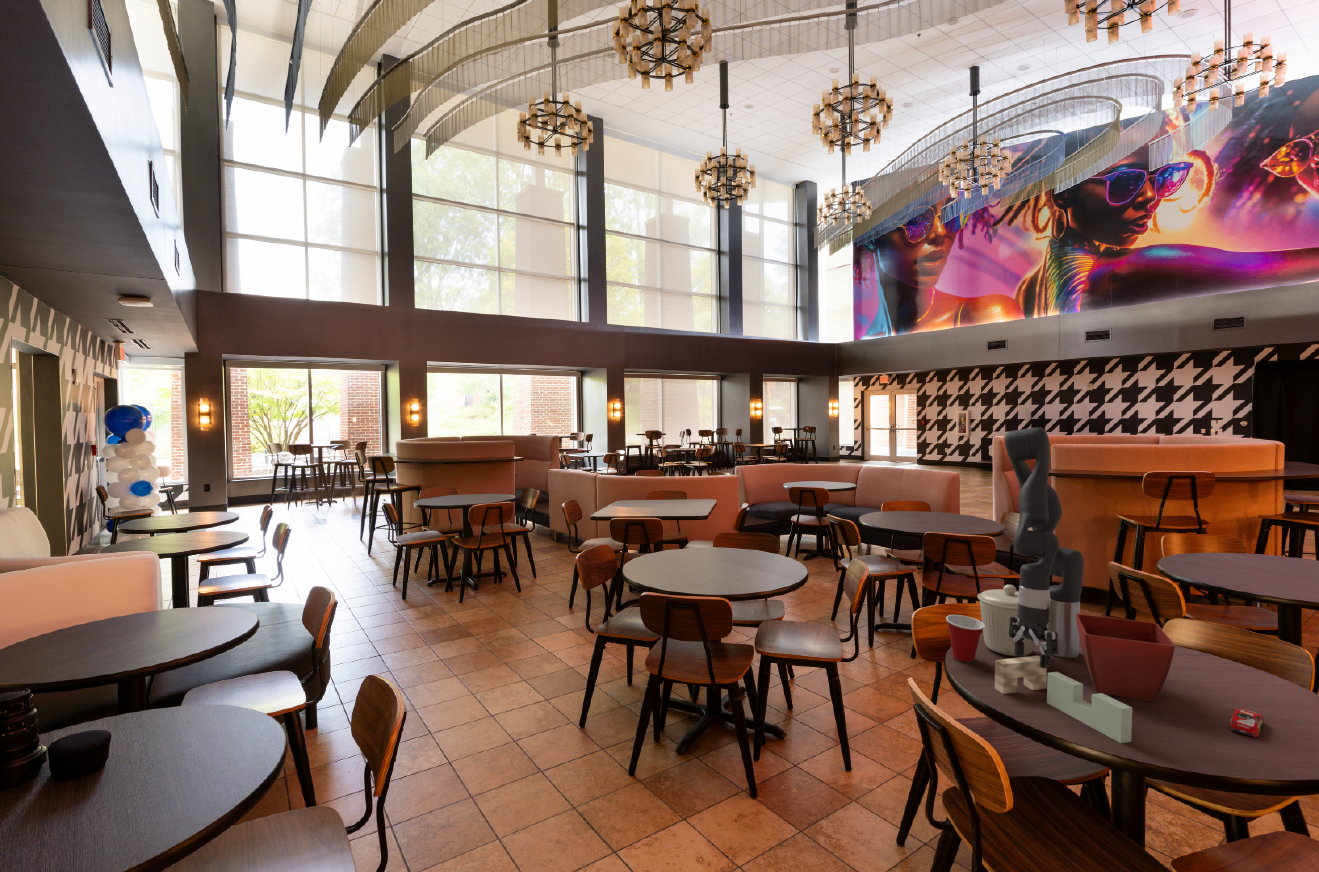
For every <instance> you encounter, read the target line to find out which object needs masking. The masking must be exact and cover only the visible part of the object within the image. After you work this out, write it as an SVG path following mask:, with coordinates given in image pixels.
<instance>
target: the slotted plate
mask: <svg viewBox="0 0 1319 872" xmlns="http://www.w3.org/2000/svg"><path fill="white" fill-rule="evenodd" d="M994 661H995V662H994V689H995V690H996V691H997V692H999V693H1001V694H1003V695H1004V694H1012V693H1014V694H1015V693H1017V692H1018V678H1023V686H1024V687H1026V688H1028V689H1029V690H1031V691H1036V690H1045V689H1046V690H1047V679H1048V672H1047V670H1048V668H1041V667H1040V655H1032V656H1029V655H1028V656H1019V657H1012V658H1004V659H995V660H994Z"/></svg>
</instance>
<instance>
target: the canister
mask: <svg viewBox="0 0 1319 872" xmlns="http://www.w3.org/2000/svg"><path fill="white" fill-rule="evenodd" d="M1018 592H1019V590H1017V587H1015V586H1014V585H1013V584H1006V585H1004V586H1003V588H1000V589H987V590H984V591H983V592H980V593H978V594H977V600H979V605H980V606H979V608H980V616H981V617H980V618H981V622H983V623H984V624H985V627H984V629H982V633H983V641H984V643H985V645H986V646H987V648H989V649H990V650H991V651H993V652H995V653H997V654H1001V655H1003V656H1009V657H1018V656H1017V655H1016V654H1015V641H1014V639H1013V638H1012V637H1009V625H1010V617H1018V616H1017V615H1018ZM1014 633H1015V630H1014ZM1022 642H1024V655H1023V656H1022V657H1027V656H1029V655H1031V653H1032V652H1033V651H1034V649H1035V646H1036V644H1035V642H1033V641H1031V640H1030V639H1027V638H1026V639H1025V640H1024V641H1022Z"/></svg>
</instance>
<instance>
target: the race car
mask: <svg viewBox="0 0 1319 872" xmlns="http://www.w3.org/2000/svg"><path fill="white" fill-rule="evenodd" d="M1232 711H1233V713H1232V716H1231V719H1230V721H1229V729H1230V730H1231V731H1232V732H1235V733H1239V734H1243V735H1247V736H1250V737H1254V738H1259V737H1260V735H1261V733H1262V729H1263V726H1264V725H1263V724H1264V716H1263V715H1261V713H1258V712H1255V711H1253V710H1249V709H1244V708H1233V709H1232Z"/></svg>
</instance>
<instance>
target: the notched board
mask: <svg viewBox="0 0 1319 872" xmlns="http://www.w3.org/2000/svg"><path fill="white" fill-rule="evenodd" d="M1083 694H1084V684H1083V683H1082V682H1079V681H1078V680H1075V679H1073V678H1071V677H1069V676H1066V675H1065V674H1063V673H1061V672H1059V671H1053V672H1047V679H1046V704H1047V705H1049V706H1052V707H1053V708H1055V709H1057V710H1059V711H1060V712H1062V713H1064V714H1066V715H1068V716H1070V717H1072V718H1073V719H1075V720H1077V721H1079V722H1081V723H1083V724H1084V725H1086V726H1088V727H1090V728H1092V729H1094V730H1096V731H1097V732H1099V733H1100V734H1103V735H1105V736H1106V737H1109V738H1110V739H1112V740H1113V741H1116V742H1117V743H1119V744H1125V743H1131V742H1132V730H1133V728H1132V727H1133V707H1132V706H1129V705H1128V704H1125V702H1121V701H1119V700H1117V699H1115V698H1113V697H1111V696H1109V695H1108V694H1103V693H1099V692H1097V693H1092V694H1091V703H1089V702H1087V701H1086V700H1084V699H1083V697H1084V695H1083Z"/></svg>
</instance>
